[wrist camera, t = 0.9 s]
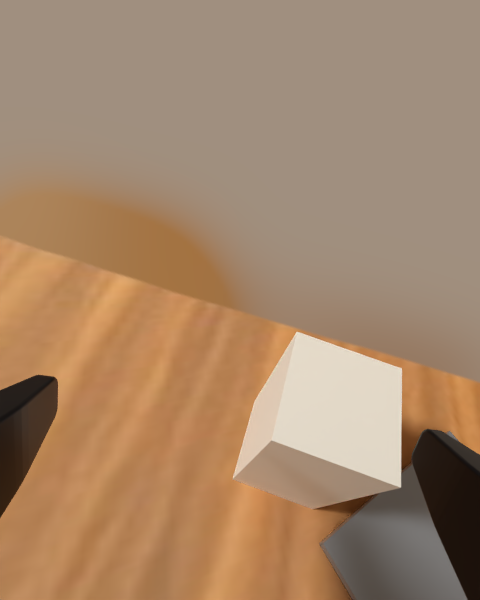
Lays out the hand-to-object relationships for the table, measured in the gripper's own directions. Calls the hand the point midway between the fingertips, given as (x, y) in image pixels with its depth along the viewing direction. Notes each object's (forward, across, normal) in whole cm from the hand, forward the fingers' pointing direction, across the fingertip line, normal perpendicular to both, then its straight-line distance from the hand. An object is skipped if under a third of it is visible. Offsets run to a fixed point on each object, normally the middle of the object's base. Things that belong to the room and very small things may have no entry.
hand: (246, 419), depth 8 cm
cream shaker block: (+10, -5, +10) cm, 15 cm away
